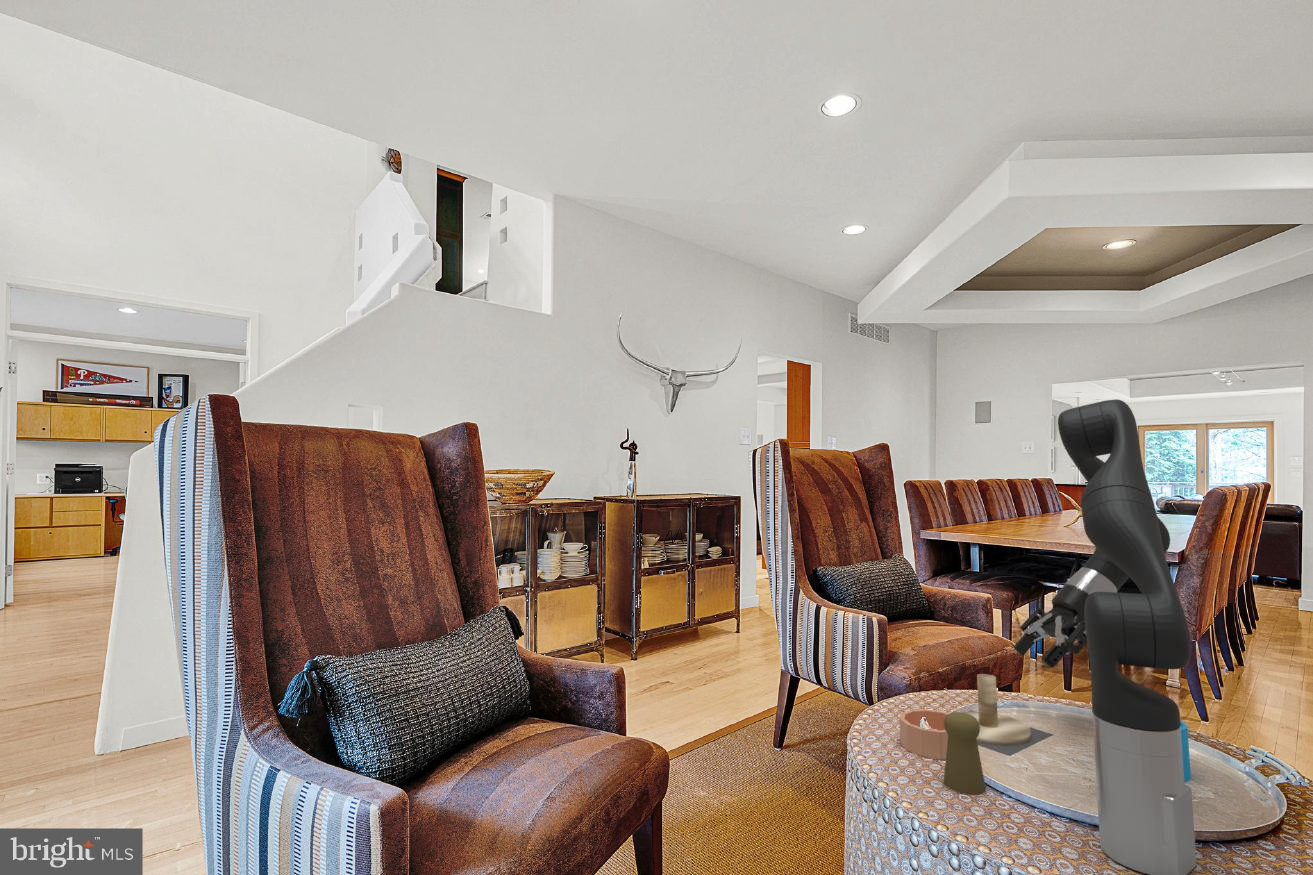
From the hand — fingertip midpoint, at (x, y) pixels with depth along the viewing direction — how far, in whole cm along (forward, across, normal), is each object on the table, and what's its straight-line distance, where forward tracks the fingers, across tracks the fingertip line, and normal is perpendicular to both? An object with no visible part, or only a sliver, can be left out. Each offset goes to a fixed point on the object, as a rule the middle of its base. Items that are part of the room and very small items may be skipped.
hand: (1031, 657), depth 125 cm
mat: (+16, 0, +3) cm, 17 cm away
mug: (+5, +17, +15) cm, 23 cm away
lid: (+16, 0, +3) cm, 16 cm away
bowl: (+26, +6, -7) cm, 28 cm away
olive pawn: (+28, +20, -8) cm, 35 cm away
